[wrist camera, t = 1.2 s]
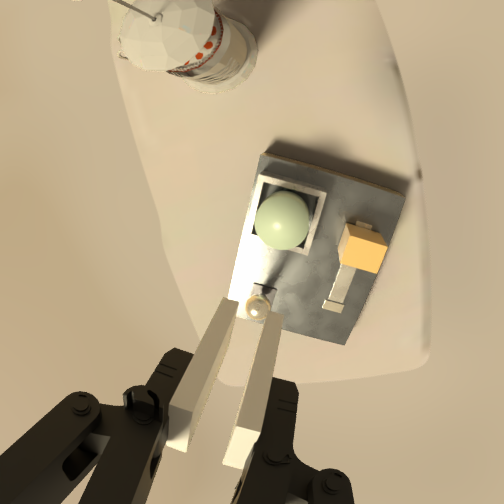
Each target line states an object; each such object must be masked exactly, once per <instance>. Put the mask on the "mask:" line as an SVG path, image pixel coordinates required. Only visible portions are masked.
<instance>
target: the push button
mask: <svg viewBox="0 0 504 504" xmlns="http://www.w3.org/2000/svg"><path fill="white" fill-rule="evenodd" d="M309 216H310V215H309V209H308V206H307V204H306V202H305V201H304V200H303V199H302V198H301V197H300V196H299V195H297V194H295V193H293V192H290V191H278V192H274V193H272V194H271V195H269V196H268V197H267V198H266V199H265V200H264V201H263V203H262V204H261V206H260V208H259V209H258V211H257V213H256V216H255V220H254V225H255V230H256V233H257V235H258V237H259V238H260V240H261V241H262V242H263V243H265V244H266V245H267V246H269V247H271V248H274V249H278V250H288V249H292V248H294V247H296V246H298V245H299V244H300V243H301V242H302V241H303V240H304V239H305V237H306V236H307V233H308V230H309Z"/></svg>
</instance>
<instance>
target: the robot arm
mask: <svg viewBox="0 0 504 504" xmlns="http://www.w3.org/2000/svg"><path fill="white" fill-rule="evenodd" d="M238 306H239V302H238V301H234V300H231V299H227V298H224V297H223V299H222V301H221V303H220V305H219V307H218V309H217V311H216V313H215V315H214V316H213V318H212V320H211V322H210V324H209V326H208V328H207V330H206V332H205V334H204V336H203V338H202V340H201V342H200V344H199V346H198V348H197V350H196V352H195V354H192V353H189V352H186V351H183V350H180V349H177V348H173V349H172V350H170V351H168V352H167V353H165V354H164V356H163V357H162V359H161V361H160V362H159V365H158V366H157V367H156V369H155V371H154V372H153V374H152V375H151V377H150V379H149V380H148V382H147V384H146V385H145V386H144V385H139V386H133V387H131V388H129V389H127V390H126V391H125V392H124V393H123V400H124V406H113V405H106V404H100V403H99V402H98V400H97V399H96V398H95V397H94V396H93V395H92V394H89V393H87V392H81V391H79V392H74V393H71V394H70V395H68V396H67V397H66V398H64V399H63V400H62V401H61V402H60V403H59V404H58V405H56V406H55V407H54V408H53V409H52V410H51V411H50V412H49V413H48V414H46V415H45V416H44V417H43V418H42V419H41V420H39V421H38V422H37V423H36V424H35V425H34V426H33V427H32V428H31V429H29V430H28V431H27V432H26V433H25V434H24V435H23V436H22V437H21V438H19V439H18V440H17V441H16V442H15V443H14V444H13V445H12V446H10V447H9V448H8V449H7V450H6V451H5V452H4V453H3V454H2V455H0V504H61V503H62V501H63V500H64V499H65V498H66V497H67V496H68V495H69V494H70V493H71V492H72V491H73V489H74V488H75V487H76V486H77V485H78V484H79V483H80V482H81V481H82V480H83V479H84V477H85V476H86V475H87V474H88V473H89V472H90V471H91V470H92V468H93V467H94V466H95V465H96V464H97V465H96V467H95V470H94V472H93V474H92V476H91V478H90V480H89V482H88V484H87V486H86V489H85V491H84V493H83V495H82V497H81V499H80V501H79V503H78V504H145V503H146V500H147V497H148V495H149V491H150V489H151V486H152V483H153V480H154V477H155V475H156V472H157V469H158V466H159V463H160V461H161V457H162V450H163V448H164V445H165V443H166V441H167V446H169V447H172V448H174V449H177V450H180V451H183V452H187V450H188V447H189V445H190V442H191V440H192V437H193V435H194V432H195V430H196V427H197V425H198V422H199V420H200V417H201V415H202V412H203V410H204V407H205V405H206V402H207V399H208V397H209V395H210V392H211V389H212V387H213V384H214V382H215V380H216V377H217V374H218V372H219V369H220V367H221V364H222V362H223V359H224V357H225V354H226V352H227V349H228V346H229V343H230V338H231V334H232V330H233V326H234V322H235V318H236V314H237V310H238ZM283 318H284V315H283V314H279V313H276V312H272V311H269V310H268V312H267V315H266V318H265V321H264V325H263V328H262V331H261V334H260V338H259V341H258V344H257V347H256V350H255V354H254V357H253V361H252V364H251V368H250V371H249V375H248V378H247V382H246V385H245V389H244V392H243V396H242V399H241V403H240V406H239V409H238V414H237V417H236V420H235V423H234V426H233V430H232V433H231V436H230V440H229V443H228V447H227V450H226V453H225V456H224V460H223V463H222V464H224V465H228V466H232V467H235V468H239V469H243V473H242V476H241V478H240V480H239V482H238V484H237V486H236V487H235V489H236V490H235V493H234V496H233V499H232V501H231V504H354V498H353V493H352V487H351V483H350V480H349V478H348V477H347V476H346V475H345V474H344V473H343V472H341V471H339V470H337V469H330V468H329V469H324V470H321V471H318V470H316V469H314V468H312V467H309V466H308V465H306V464H304V463H303V462H301V461H300V460H299V459H298V458H297V456H296V455H295V453H294V450H293V439H294V431H295V423H296V413H297V404H298V396H299V392H298V390H297V387H296V384H295V383H294V382H290V381H286V380H282V379H278V378H275V377H272V376H273V371H274V366H275V361H276V356H277V350H278V345H279V340H280V335H281V329H282V324H283Z"/></svg>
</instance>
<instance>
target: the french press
mask: <svg viewBox="0 0 504 504" xmlns="http://www.w3.org/2000/svg"><path fill="white" fill-rule="evenodd" d="M72 1H80V0H72ZM113 1H115V2H118V3H120V4H122V5H124V6H126V7H128V8H129V10H128V12H127V13H126V15H125V16H124V18H123V22H122V26H121V31H120V34H119V36H118V37H117V38H118V41H119V42H120V43H121V46H122V49H121V50H119V52H118V53H117V55H118V57H119V58H122V59H125V60H129V61H130V62H131V64H133V65H135V66H137V67H139V68H141V69H143V70H145V71H160V72H165V71H166V72H168V73H169V74H172V75H174V74H175V76H178V77H180V76H181V78H182V79H183V80H184V81H185V83H186V84H187V85H188V86H190V87H192V88H193V89H195V90H197V91H199V92H201V93H212V94H218V93H222V92H226V91H229V90H233V89H234V88H235V87H237V86H238V85H240V84H241V83H242V82H244V81H245V80H246V79H247V78H248V76H249V75H250V73H251V72H252V70H253V69H254V67H255V64H256V59H257V53H258V49H257V45H256V42H255V38H254V36H253V34H252V33H251V32H250V31H249V30H248V29H247V27H246V26H245V25H244V24H241V23H239V22H237V21H235V20H233V19H231V18H226V17H224V15H223V13H222V12H221V11H220V10H219V9H217V8H215V7H213V3H212V0H135V1H134V2H133V4H132V5H130V4H128V3H126V2H124V1H122V0H113ZM218 13H219V14H218ZM220 14H221V15H220ZM222 15H223V16H222ZM220 16H222V17H224V18H222V17H220ZM122 51H123V53H124V54H125V55H126V57H127V58H126V57H122V56H121V55H120V53H121V52H122ZM171 72H173V73H174V74H173V73H171ZM176 73H177V74H179V75H180V76H179V75H177V74H176Z"/></svg>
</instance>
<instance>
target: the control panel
mask: <svg viewBox="0 0 504 504" xmlns="http://www.w3.org/2000/svg"><path fill="white" fill-rule="evenodd" d="M278 191H290V192H293V193H295V194H297V195H299V196H300V197H301V198H302V199H303V200H304V201H305V202H306V204H307V206H308V209H309V215H310V216H309V230H308V233H307V236H306V237H305V239H304V240H303V241H302V242H301V243H300V244H299V245H298V246H296V247H294V248H292V249H288V250H278V249H274V248H271V247H269V246H267V245H266V244H265V243H263V242H262V241H261V240H260V238H259V237H258V235H257V233H256V230H255V225H254V220H255V216H256V213H257V211H258V209H259V208H260V206H261V204H262V203H263V201H264V200H265V199H266V198H267V197H268V196H269V195H271V194H272V193H274V192H278ZM404 201H405V197H404V196H403V195H402V194H400V193H399V192H397V191H394V190H391V189H388V188H385V187H382V186H379V185H376V184H373V183H370V182H367V181H364V180H361V179H358V178H355V177H352V176H349V175H345V174H342V173H339V172H336V171H332V170H329V169H325V168H322V167H319V166H315V165H312V164H308V163H304V162H301V161H297V160H293V159H290V158H286V157H282V156H278V155H274V154H270V153H266V152H264V153H262V154H261V155H260V159H259V163H258V167H257V172H256V176H255V180H254V185H253V189H252V193H251V198H250V202H249V206H248V211H247V215H246V219H245V224H244V228H243V233H242V237H241V242H240V246H239V250H238V255H237V259H236V264H235V268H234V273H233V277H232V282H231V286H230V291H229V295H228V299H231V300H234V301H238V302H239V306H238V310H237V314H236V316H237V317H241V318H244V319H247V320H251V321H254V322H258V323H261V324H264V321H265V318H264V319H262V320H255V319H252V318H250V317H249V316H248V315H247V313H246V310H245V304H246V301H247V300H248V298H249V297H251V296H252V295H255V294H259V293H264V294H265V295H266V296H267V298H268V299H269V301H270V303H271V311H272V312H276V313H279V314H283V315H284V318H283V324H282V329H283V330H286V331H290V332H294V333H298V334H301V335H305V336H309V337H313V338H317V339H321V340H325V341H329V342H333V343H337V344H341V345H345V344H346V341H347V339H348V337H349V335H350V333H351V331H352V329H353V327H354V325H355V323H356V321H357V318H358V316H359V314H360V312H361V310H362V308H363V305H364V303H365V301H366V299H367V296H368V294H369V292H370V289H371V287H372V285H373V283H374V280H375V278H376V275H377V274H376V273H372V272H369V271H365V270H362V269H358V268H355V267H351V266H348V265H344V264H341V263H340V260H339V254H338V245H339V243H340V240H341V237H342V234H343V231H344V228H345V225H346V223H349V224H352V225H355V226H358V227H362V228H365V229H368V230H371V231H375V232H378V233H380V234H381V235H382V237H383V239H384V241H385V243H386V245H387V246H389V243H390V240H391V238H392V235H393V232H394V230H395V227H396V224H397V221H398V219H399V216H400V213H401V210H402V207H403V204H404ZM386 251H387V250H386ZM384 256H385V255H384ZM382 261H383V260H382ZM380 266H381V265H380ZM378 271H379V270H378Z"/></svg>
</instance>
